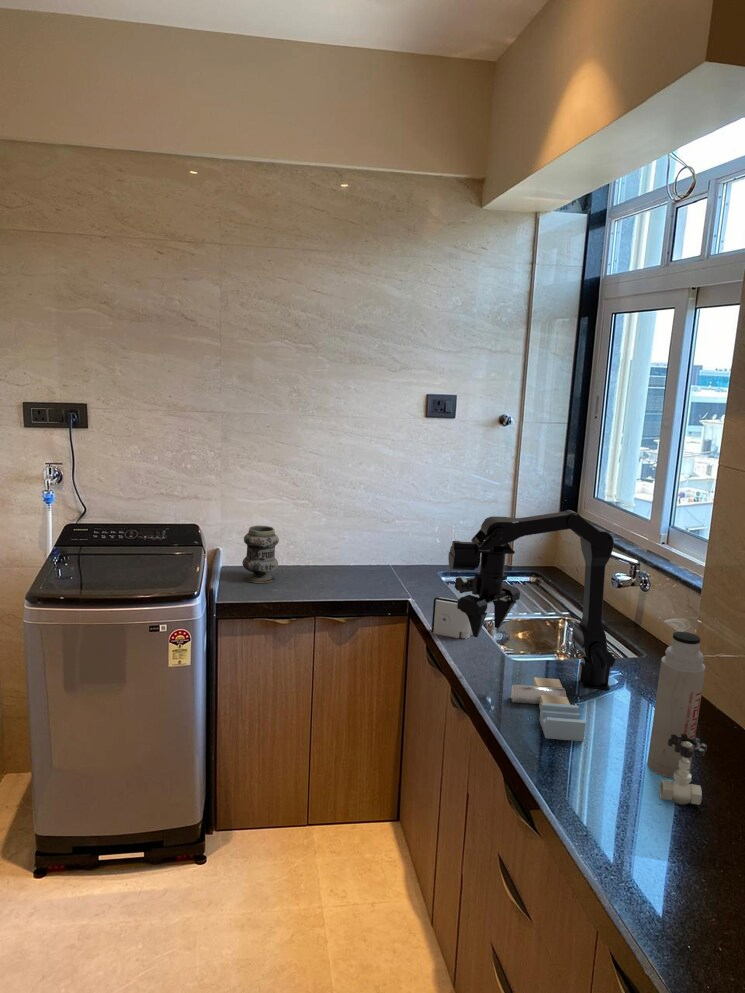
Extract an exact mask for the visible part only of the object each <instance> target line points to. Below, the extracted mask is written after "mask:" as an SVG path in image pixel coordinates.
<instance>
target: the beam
mask: <svg viewBox="0 0 745 993" xmlns="http://www.w3.org/2000/svg"><path fill="white" fill-rule="evenodd" d="M532 686H539V687H552V688H564V687H563V685H562V683H561V681H560V679H559V678H545V677H535V676H534V677H533V685H532ZM541 703H553V704H566V705H571V703H570V701H569V699H568V697H567V696H566V697H561V696H549V695H540V704H538V707H539V711H540V710H541Z"/></svg>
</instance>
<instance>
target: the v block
mask: <svg viewBox="0 0 745 993" xmlns="http://www.w3.org/2000/svg"><path fill="white" fill-rule="evenodd" d="M579 710H580V707H579V704H578V705H574V704H570V705H566V704H553V703H541V710H540V709H539V723H540V727H541V729H542V732H543V734H544V738H545V739H549V740H550V739H553V740H564V741H577V742H585V740H584V739H585V733H586V724H587V723H586V720H585V719H580V716H581V714H580V713H579V712H580V711H579Z"/></svg>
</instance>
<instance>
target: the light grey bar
mask: <svg viewBox="0 0 745 993" xmlns="http://www.w3.org/2000/svg"><path fill="white" fill-rule="evenodd" d="M510 690H511V692H510V699H511V702H512V703H517V704H518V703H521V704H531V705H539V704H540V695H549V696H561V697H567V691H566V688H564V687H563V688H552V687H539V686H533V685H525V684H523V685H522V684H512V686H511V689H510Z"/></svg>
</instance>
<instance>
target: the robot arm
mask: <svg viewBox="0 0 745 993" xmlns="http://www.w3.org/2000/svg"><path fill="white" fill-rule="evenodd" d="M565 530H567V531H568V530H571V531H572V532H573V533H574V534H575V535H576V536H578V537H579V540H580V548H581V549H580V550H581V553H582V556H583V559H584V564H585V566H584V567H585V568H584V583H583V584H584V586H583V603H582V617H581V620H579V621H580V622H579V623H573V634H572V637H571V638H572V639H573V641H574V643H575V645H576V647H577V648H578V649H579V650H580V653H581V655H583V656H582V658H581V659H582V660H581V661H580V662H579V666H578V672H577V673H578V674H577V678H578V680H579V682H580V683H581V685H582V688H589V689H599V690H600V689H603V690H610V689H611V687H610V685H609V679H610V671H611V668H612V667H614V664H615V663H616V658H615V657H614V656H613V655H612V653H611V652H610V651H609V650H608V642H607V635H606V631H605V628H604V625H603V609H604V607H603V606H604V595H605V594H604V591H605V578H606V576H605V575H606V566H607V564H608V562H609V560H610V559H611V557H612V554H613V550H614V545H615V542H614V540H615V539H614V537H613V536H612V534H610V533H609V532H608V531H606V530H604V529H602V528H601V527H598V526H597V525H592V524H591V523H589V522H588V521H587V520H585V519H584V518H583V517H582V516H581V515H580V514H579V513H577V512H576V511H573V510H571V509H566V510H564V511H559V512H558V511H557V512H552V513H551V512H550V513H545V514H539V515H531V516H525V517H524V516H523V517H509V516H488V517H486V518H485V519H484V521H483V522H482V524H481V525H480V529H479V530H478V531H477V533H475V535H474V536H473V537H472V538H471V540H470V541H460V540H453V541H452V544H451V546H450V548H449V551H448V557H447V558H448V559H447V560H448V567H449V569H450V570H452V571H475V570H476V569H478V568H479V572H476V573H475V574H474V576H470V577H469V576H468V577H466V576H459V577H456V578H455V582H454V588H455V590H456V591H457V592H459V594H464V593H468V592H471V594H472V595H471V594H467V595H464V596H461V597H459V598H458V599H457V600H458V601H457V609H460V610H461V611H462V612H465V614H466V615H467V616H468V619H469V622H470V626H471V630H472V633H473V635H472V636H473V637H475V638H478V637H479V633H481V630H482V627H483V625H484V623H485V620H486V617H487V615H488V612H487V610H488V604H491V603H492V604H493V606H494V607H493V608H494V609H493V610H494V611H493V612H494V613H493V614H494V616H493V617H494V619H493V620H494V623H493V624H494V628H495V629H500V627H501V626H502V624H503V622H504V621H505V619H506V618H507V616H508V614H509V613H510V612H511V609H513V607H514V606H515V604H516V603H517V601H518V600H520V597H521V596H520V595H521V592H520V590H519V588H518V587H516V586H512V585H508V584H506V583H504V581H506V580H508V574H505V564H506V554H507V555H515V553H516V552H515V550H514V549H513V548H512V547H511V545H510V543H512V542H515V541H517V540H518V539H520V538H522V537H525V536H526V537H527V536H532V535H539V534H545V533H553V532H559V531H565ZM477 596H478V597H477Z"/></svg>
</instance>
